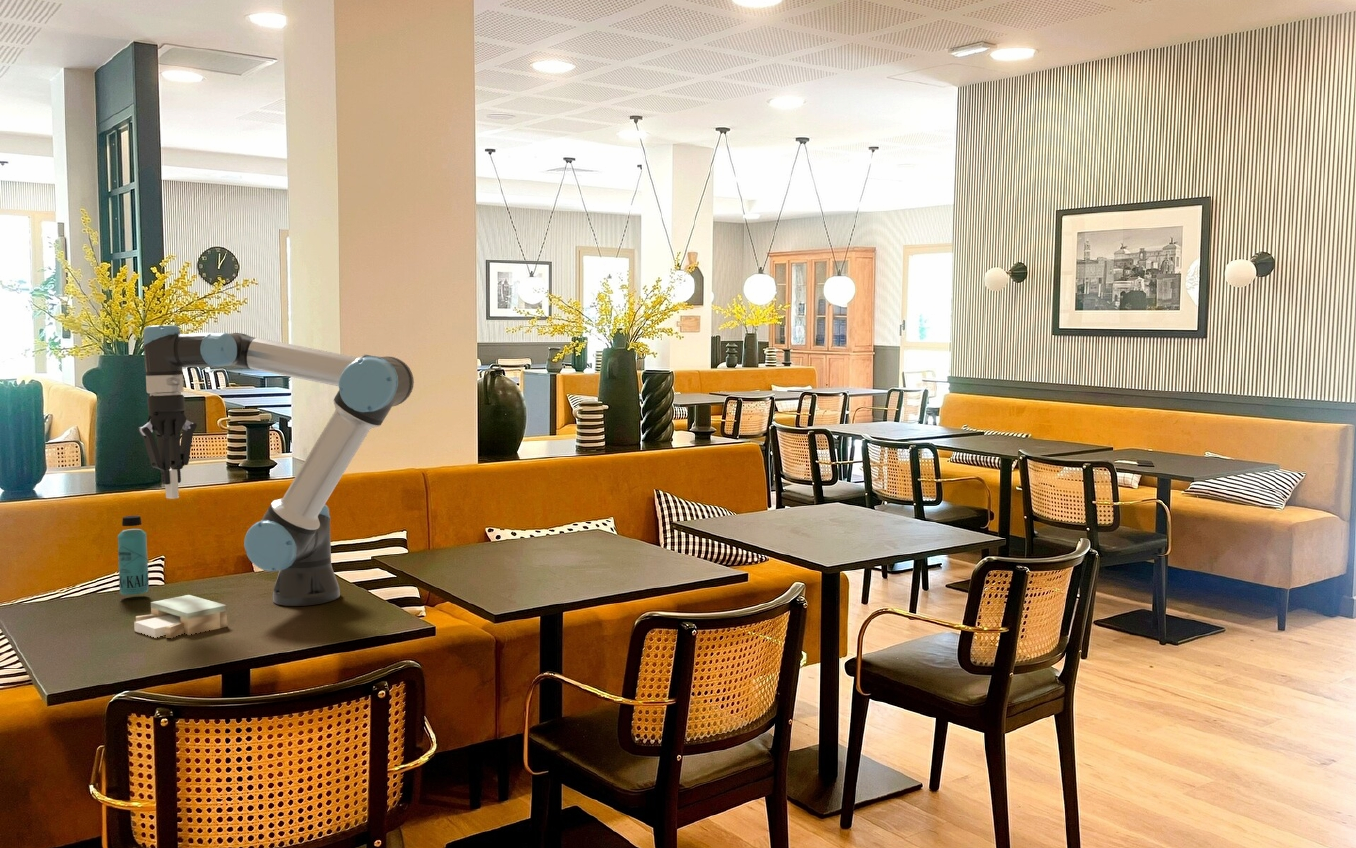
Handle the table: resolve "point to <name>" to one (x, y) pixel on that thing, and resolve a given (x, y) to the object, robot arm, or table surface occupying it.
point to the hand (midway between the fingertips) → (172, 498)
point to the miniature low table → (189, 614)
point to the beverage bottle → (132, 558)
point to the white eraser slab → (156, 625)
